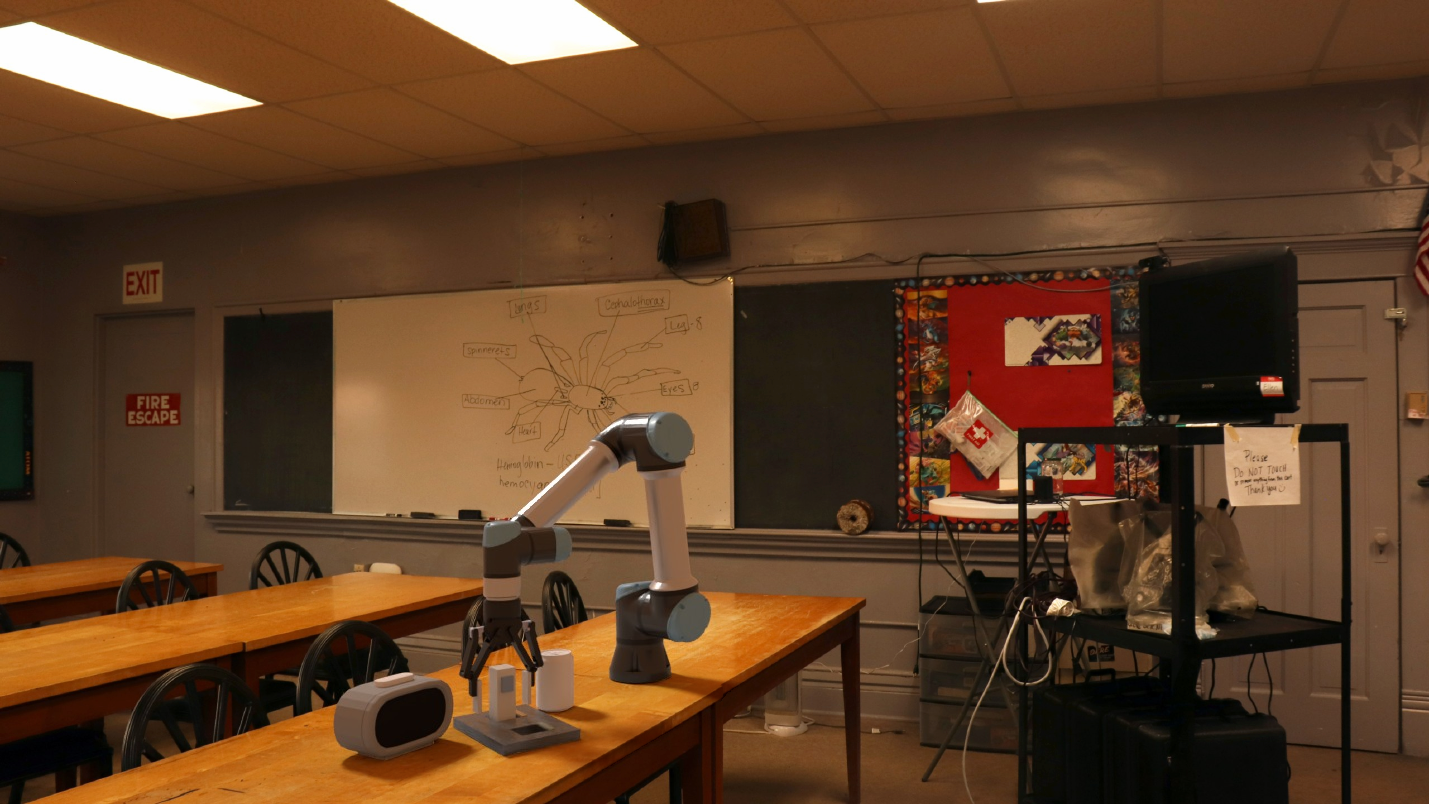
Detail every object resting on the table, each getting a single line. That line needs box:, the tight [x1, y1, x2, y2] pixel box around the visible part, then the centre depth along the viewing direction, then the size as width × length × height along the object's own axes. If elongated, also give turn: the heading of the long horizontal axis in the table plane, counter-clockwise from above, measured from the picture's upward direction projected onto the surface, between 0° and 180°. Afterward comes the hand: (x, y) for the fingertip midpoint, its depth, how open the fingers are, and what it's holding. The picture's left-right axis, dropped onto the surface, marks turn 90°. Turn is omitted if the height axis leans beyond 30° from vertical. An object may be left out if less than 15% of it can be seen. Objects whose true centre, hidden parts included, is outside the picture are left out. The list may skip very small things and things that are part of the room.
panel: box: [452, 703, 582, 757], centre depth 195 cm, size 16×24×2 cm, turn 37°
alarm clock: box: [333, 672, 454, 762], centre depth 187 cm, size 21×10×13 cm, turn 148°
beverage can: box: [535, 648, 575, 713], centre depth 214 cm, size 8×8×12 cm
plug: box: [488, 663, 517, 722], centre depth 200 cm, size 4×5×12 cm
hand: (502, 707), depth 200 cm, fingers open, 10 cm apart
